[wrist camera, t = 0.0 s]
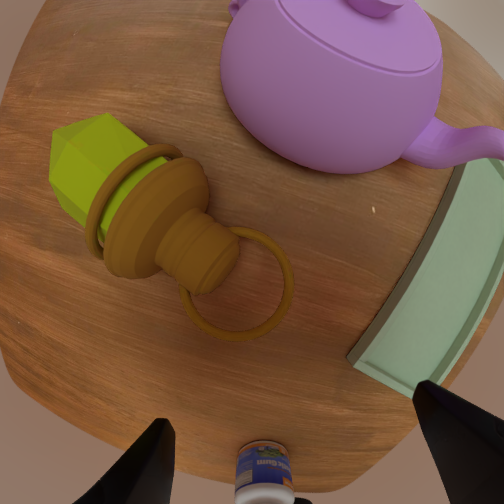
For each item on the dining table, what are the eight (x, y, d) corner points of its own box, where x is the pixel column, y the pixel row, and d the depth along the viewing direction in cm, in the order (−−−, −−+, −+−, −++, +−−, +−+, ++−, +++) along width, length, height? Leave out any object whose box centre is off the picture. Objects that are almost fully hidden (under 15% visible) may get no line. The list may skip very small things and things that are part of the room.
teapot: (165, 77, 21) (108, -23, 7) (289, -8, 20) (304, -95, 6) (372, 263, 22) (489, 296, 8) (460, 140, 21) (551, 106, 8)
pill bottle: (298, 448, 23) (312, 516, 14) (268, 473, 24) (273, 537, 14) (255, 432, 23) (257, 505, 14) (227, 458, 24) (221, 526, 14)
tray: (415, 396, 23) (424, 405, 21) (345, 357, 23) (352, 366, 21) (516, 197, 22) (526, 197, 20) (467, 131, 21) (477, 127, 19)
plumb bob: (47, 188, 22) (239, 361, 20) (-7, 148, 13) (238, 400, 11) (103, 121, 23) (308, 266, 22) (67, 65, 15) (353, 240, 13)
